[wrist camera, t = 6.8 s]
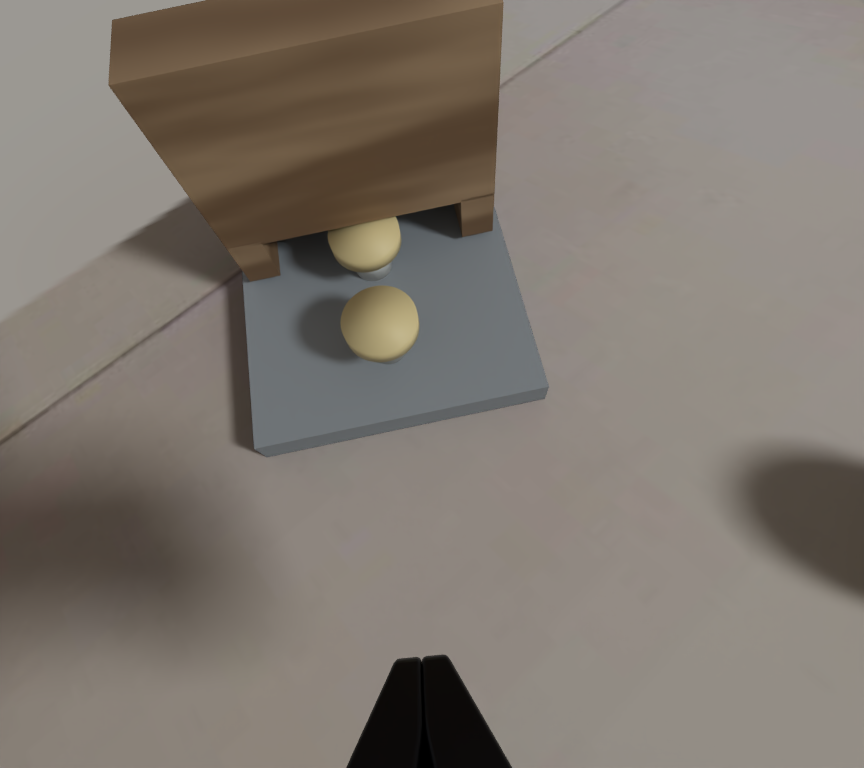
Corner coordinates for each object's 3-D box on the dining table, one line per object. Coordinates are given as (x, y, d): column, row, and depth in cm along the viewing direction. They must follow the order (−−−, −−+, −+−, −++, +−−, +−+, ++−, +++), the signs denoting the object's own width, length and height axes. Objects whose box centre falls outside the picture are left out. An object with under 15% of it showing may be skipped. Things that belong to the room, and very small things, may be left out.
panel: (492, 230, 26) (503, 2, 16) (250, 281, 26) (108, 85, 16) (478, 183, 27) (480, -58, 17) (246, 232, 27) (111, 20, 17)
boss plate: (544, 398, 24) (567, 333, 18) (266, 457, 24) (197, 411, 18) (480, 182, 29) (481, 74, 23) (249, 230, 29) (190, 135, 23)
